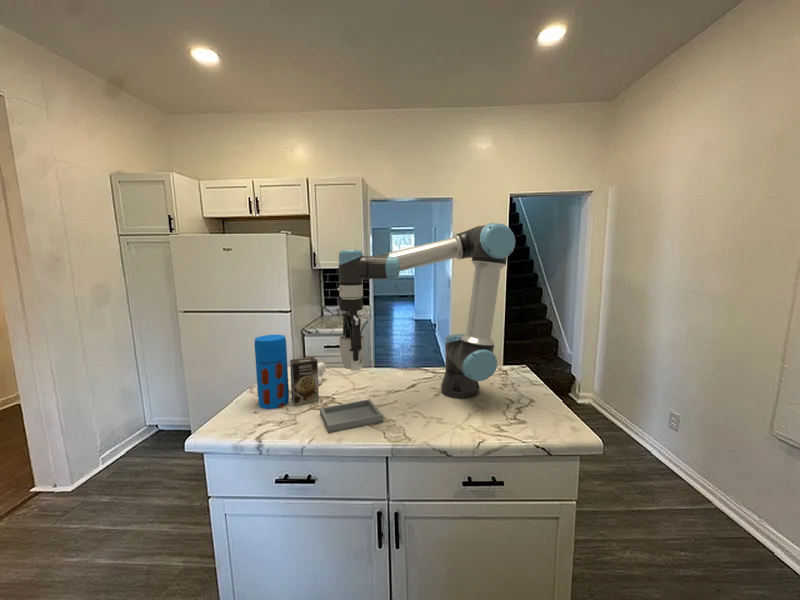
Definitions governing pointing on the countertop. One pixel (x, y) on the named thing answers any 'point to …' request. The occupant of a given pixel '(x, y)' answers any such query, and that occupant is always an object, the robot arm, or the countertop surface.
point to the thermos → (272, 371)
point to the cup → (344, 349)
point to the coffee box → (304, 381)
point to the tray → (350, 415)
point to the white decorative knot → (321, 371)
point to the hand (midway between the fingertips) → (351, 366)
